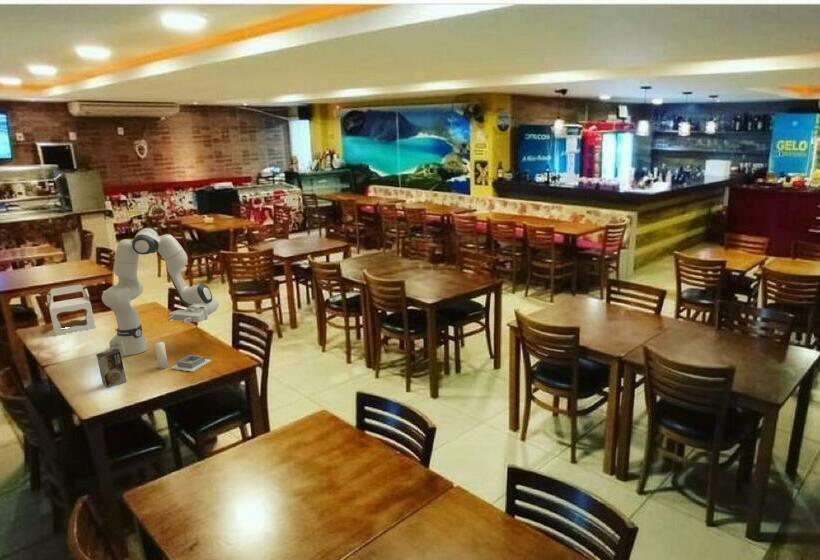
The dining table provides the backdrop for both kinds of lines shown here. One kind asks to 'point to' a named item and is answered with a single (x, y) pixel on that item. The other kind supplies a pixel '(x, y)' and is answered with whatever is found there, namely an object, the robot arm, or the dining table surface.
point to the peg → (161, 355)
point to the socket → (191, 363)
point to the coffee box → (111, 368)
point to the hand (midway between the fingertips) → (176, 320)
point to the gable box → (70, 306)
